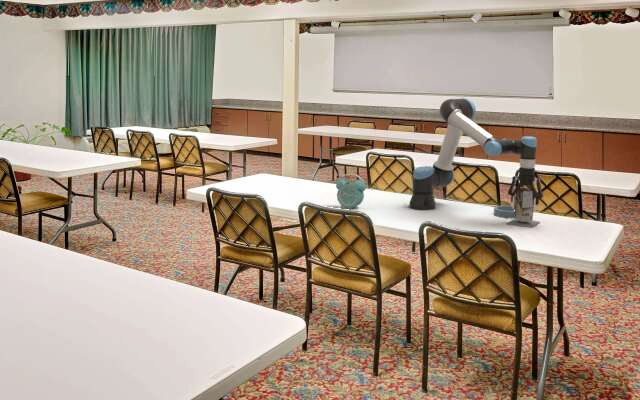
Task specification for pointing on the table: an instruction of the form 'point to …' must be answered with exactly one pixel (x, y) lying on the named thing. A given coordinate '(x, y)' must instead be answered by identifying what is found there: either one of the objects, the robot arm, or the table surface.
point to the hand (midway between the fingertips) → (524, 209)
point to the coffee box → (524, 204)
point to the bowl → (504, 211)
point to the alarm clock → (350, 192)
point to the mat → (523, 223)
